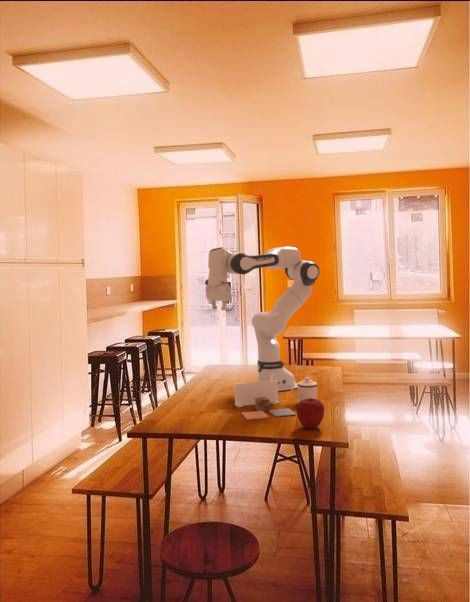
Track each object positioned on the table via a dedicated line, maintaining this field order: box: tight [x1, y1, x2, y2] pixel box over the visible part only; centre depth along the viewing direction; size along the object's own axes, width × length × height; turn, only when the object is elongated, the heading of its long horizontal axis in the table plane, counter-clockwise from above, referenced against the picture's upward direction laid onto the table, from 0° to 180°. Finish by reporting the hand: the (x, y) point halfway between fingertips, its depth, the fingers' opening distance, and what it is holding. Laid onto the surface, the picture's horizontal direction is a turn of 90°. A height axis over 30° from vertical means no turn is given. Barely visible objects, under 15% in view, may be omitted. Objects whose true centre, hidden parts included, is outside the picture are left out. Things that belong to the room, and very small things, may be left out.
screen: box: [234, 380, 280, 408], centre depth 234 cm, size 20×5×10 cm, turn 103°
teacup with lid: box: [290, 377, 318, 404], centre depth 234 cm, size 12×9×12 cm
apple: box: [295, 398, 325, 430], centre depth 198 cm, size 11×11×12 cm
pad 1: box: [241, 410, 269, 421], centre depth 216 cm, size 9×9×1 cm
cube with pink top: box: [254, 397, 271, 412], centre depth 226 cm, size 5×5×5 cm
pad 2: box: [268, 408, 297, 418], centre depth 218 cm, size 9×9×1 cm
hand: (219, 309), depth 249 cm, fingers open, 8 cm apart
